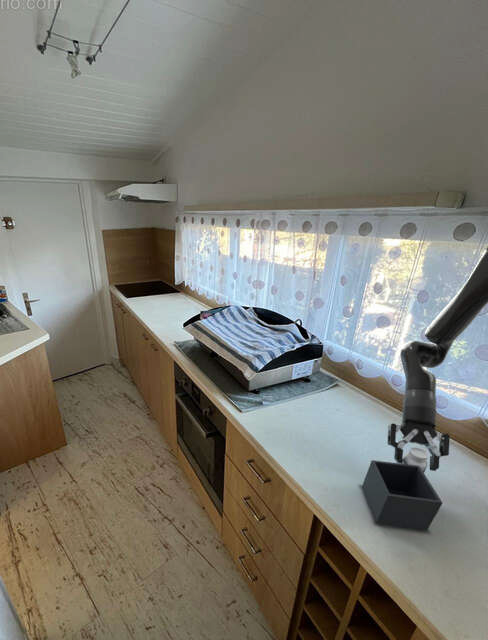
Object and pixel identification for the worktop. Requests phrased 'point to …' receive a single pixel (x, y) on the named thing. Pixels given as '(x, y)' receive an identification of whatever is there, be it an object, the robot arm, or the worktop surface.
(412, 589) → the worktop surface
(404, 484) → the waste bin
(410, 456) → the pill bottle
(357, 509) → the worktop surface
